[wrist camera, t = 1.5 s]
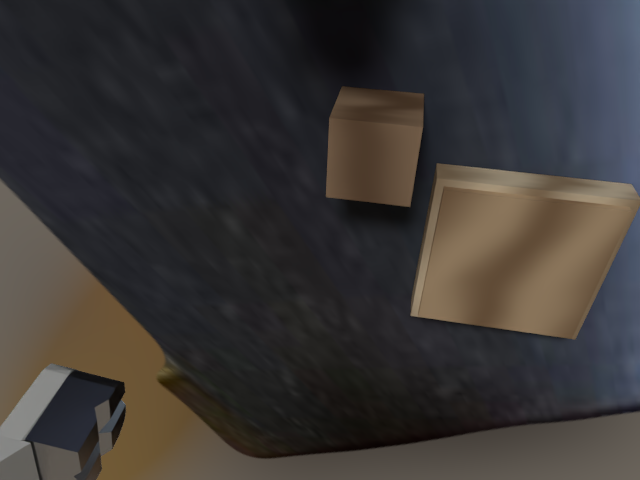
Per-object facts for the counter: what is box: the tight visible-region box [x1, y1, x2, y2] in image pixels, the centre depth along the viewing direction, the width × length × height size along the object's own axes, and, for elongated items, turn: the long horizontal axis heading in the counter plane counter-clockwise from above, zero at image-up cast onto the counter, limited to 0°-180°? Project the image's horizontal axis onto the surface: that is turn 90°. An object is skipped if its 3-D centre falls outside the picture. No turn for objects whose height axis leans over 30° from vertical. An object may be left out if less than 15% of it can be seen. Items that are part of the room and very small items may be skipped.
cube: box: [326, 86, 424, 207], centre depth 31 cm, size 5×5×5 cm
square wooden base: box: [411, 163, 640, 339], centre depth 35 cm, size 12×12×2 cm
